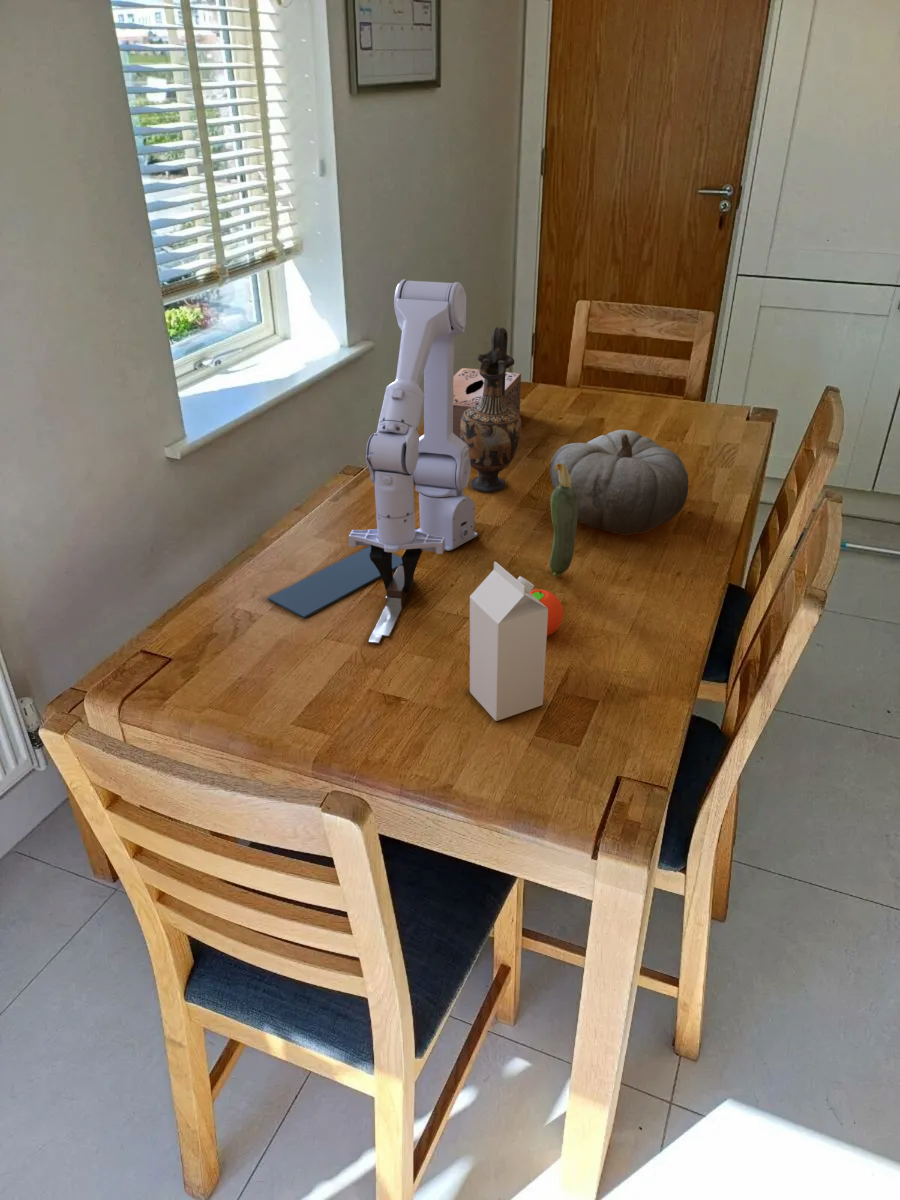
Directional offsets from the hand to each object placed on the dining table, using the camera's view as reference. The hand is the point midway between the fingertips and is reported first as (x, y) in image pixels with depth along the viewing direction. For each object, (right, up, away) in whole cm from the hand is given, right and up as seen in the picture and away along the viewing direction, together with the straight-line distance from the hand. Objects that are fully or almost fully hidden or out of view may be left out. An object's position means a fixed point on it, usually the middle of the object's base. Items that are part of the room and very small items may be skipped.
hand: (398, 588), depth 137 cm
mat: (-10, +1, +5) cm, 11 cm away
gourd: (+38, +13, +24) cm, 47 cm away
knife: (-1, -3, -3) cm, 5 cm away
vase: (+16, +21, +37) cm, 46 cm away
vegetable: (+26, +2, +5) cm, 26 cm away
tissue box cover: (+14, +37, +64) cm, 75 cm away
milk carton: (+15, -15, -22) cm, 31 cm away
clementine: (+21, -7, -9) cm, 24 cm away
